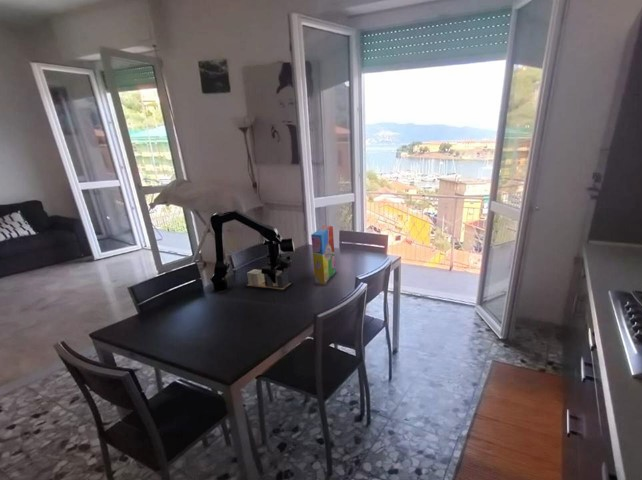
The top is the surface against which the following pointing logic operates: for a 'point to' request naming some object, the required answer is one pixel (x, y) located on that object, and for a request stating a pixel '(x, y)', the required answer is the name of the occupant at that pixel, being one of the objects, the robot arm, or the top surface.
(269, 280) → the grey book
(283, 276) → the grey book
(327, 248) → the game box
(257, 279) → the cream book
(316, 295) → the top surface
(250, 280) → the cream book
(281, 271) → the cream book
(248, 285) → the book stand
